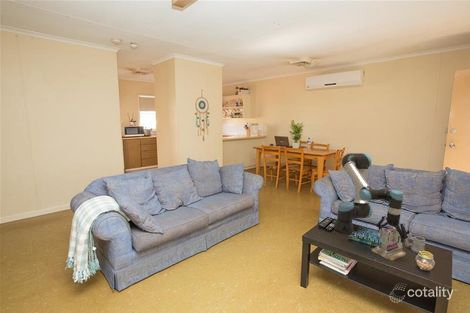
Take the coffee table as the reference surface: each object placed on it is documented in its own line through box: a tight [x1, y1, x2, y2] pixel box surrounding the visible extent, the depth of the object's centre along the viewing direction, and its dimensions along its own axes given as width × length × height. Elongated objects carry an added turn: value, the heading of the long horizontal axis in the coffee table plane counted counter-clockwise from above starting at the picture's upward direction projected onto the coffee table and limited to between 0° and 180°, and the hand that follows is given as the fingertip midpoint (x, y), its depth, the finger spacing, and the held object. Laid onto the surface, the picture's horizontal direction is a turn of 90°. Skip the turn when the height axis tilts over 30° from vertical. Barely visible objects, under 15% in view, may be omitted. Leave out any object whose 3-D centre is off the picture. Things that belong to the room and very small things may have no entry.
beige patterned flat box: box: [371, 244, 407, 262], centre depth 172 cm, size 14×17×4 cm
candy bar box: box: [380, 226, 400, 252], centre depth 171 cm, size 11×5×16 cm, turn 116°
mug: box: [404, 232, 426, 254], centre depth 176 cm, size 8×12×12 cm, turn 46°
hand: (389, 241), depth 171 cm, fingers open, 13 cm apart
